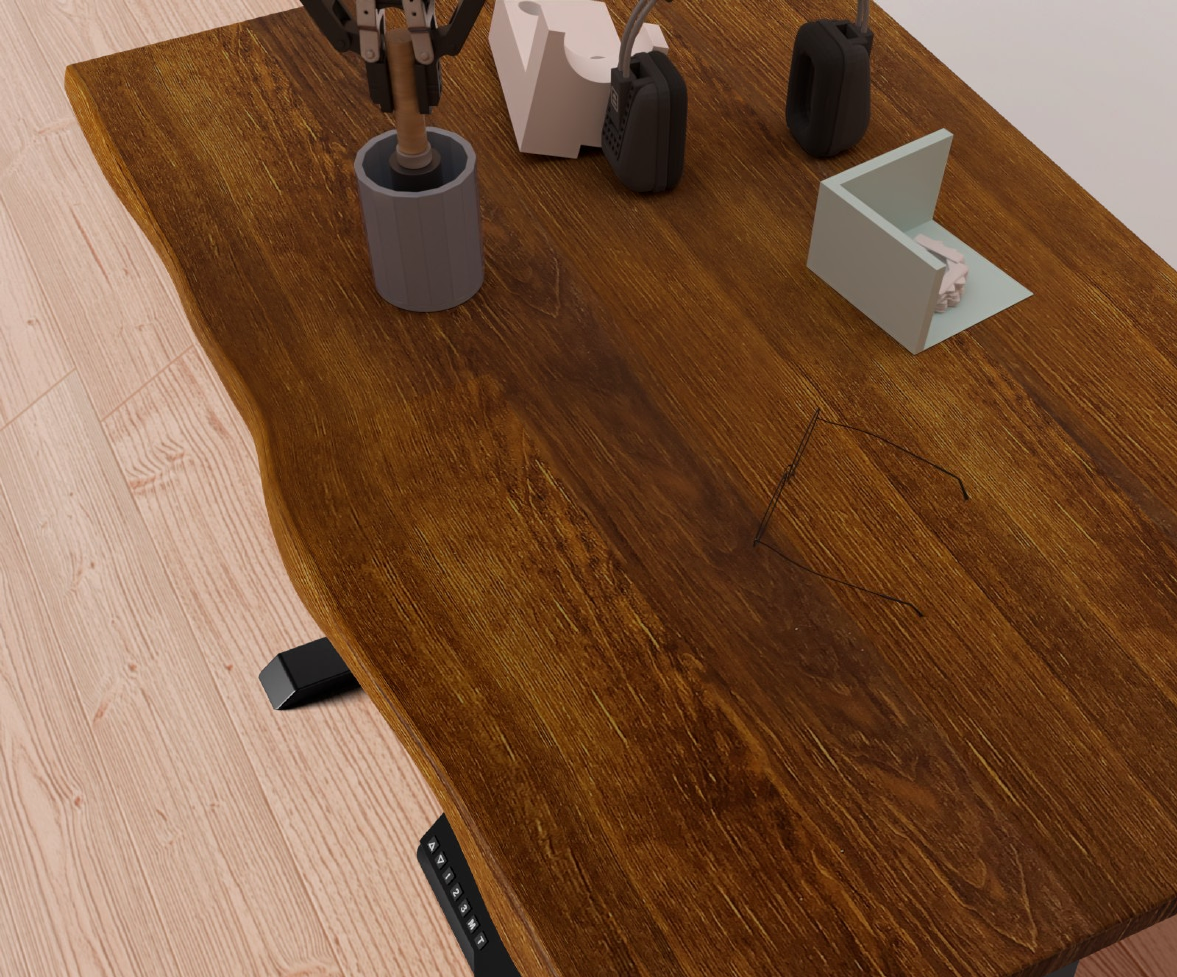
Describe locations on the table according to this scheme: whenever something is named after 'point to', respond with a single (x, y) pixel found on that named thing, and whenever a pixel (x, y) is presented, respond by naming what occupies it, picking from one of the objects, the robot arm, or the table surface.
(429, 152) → the cylinder with wooden handle
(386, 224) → the grey cup
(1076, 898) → the table surface
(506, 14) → the white notched block
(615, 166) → the headphones
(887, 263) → the l-shaped corner panel
